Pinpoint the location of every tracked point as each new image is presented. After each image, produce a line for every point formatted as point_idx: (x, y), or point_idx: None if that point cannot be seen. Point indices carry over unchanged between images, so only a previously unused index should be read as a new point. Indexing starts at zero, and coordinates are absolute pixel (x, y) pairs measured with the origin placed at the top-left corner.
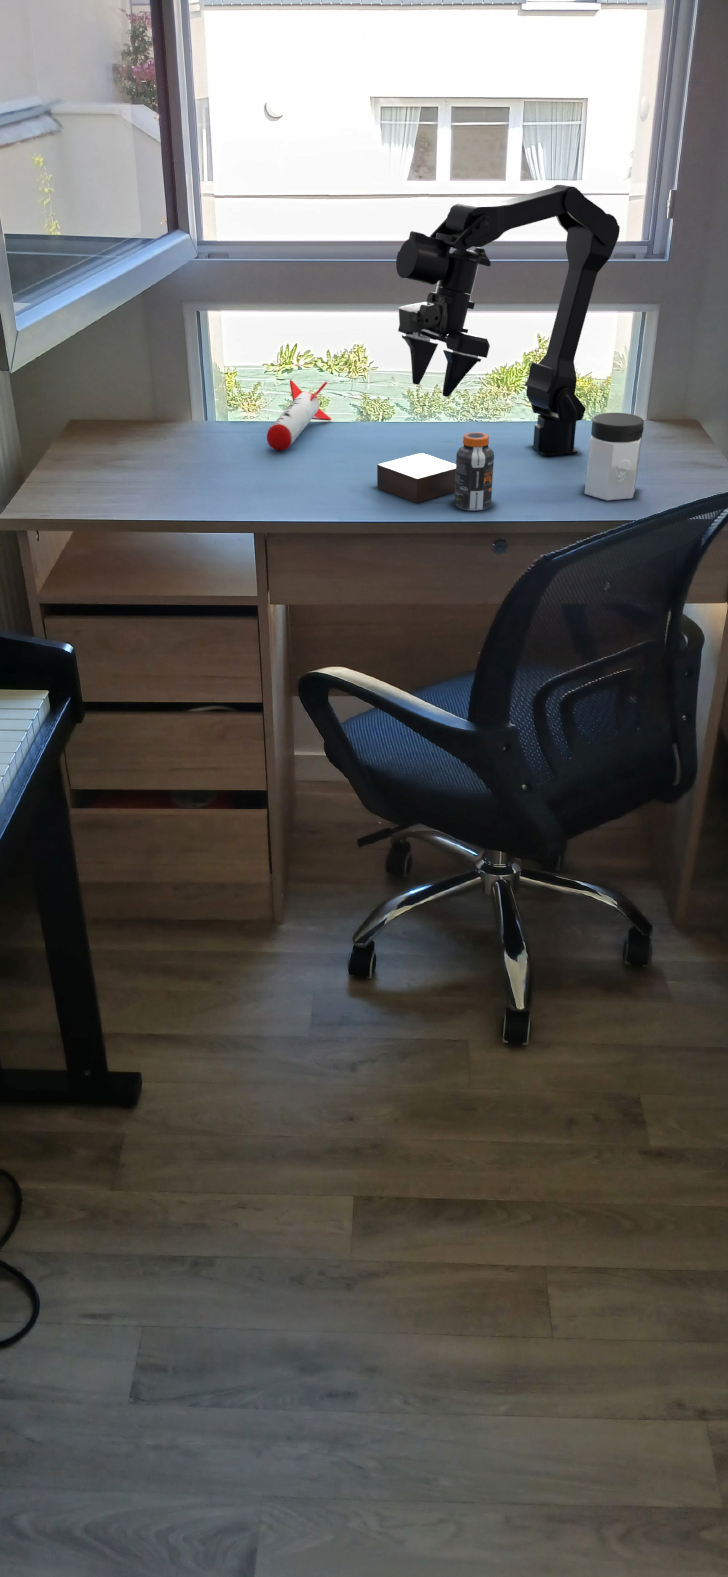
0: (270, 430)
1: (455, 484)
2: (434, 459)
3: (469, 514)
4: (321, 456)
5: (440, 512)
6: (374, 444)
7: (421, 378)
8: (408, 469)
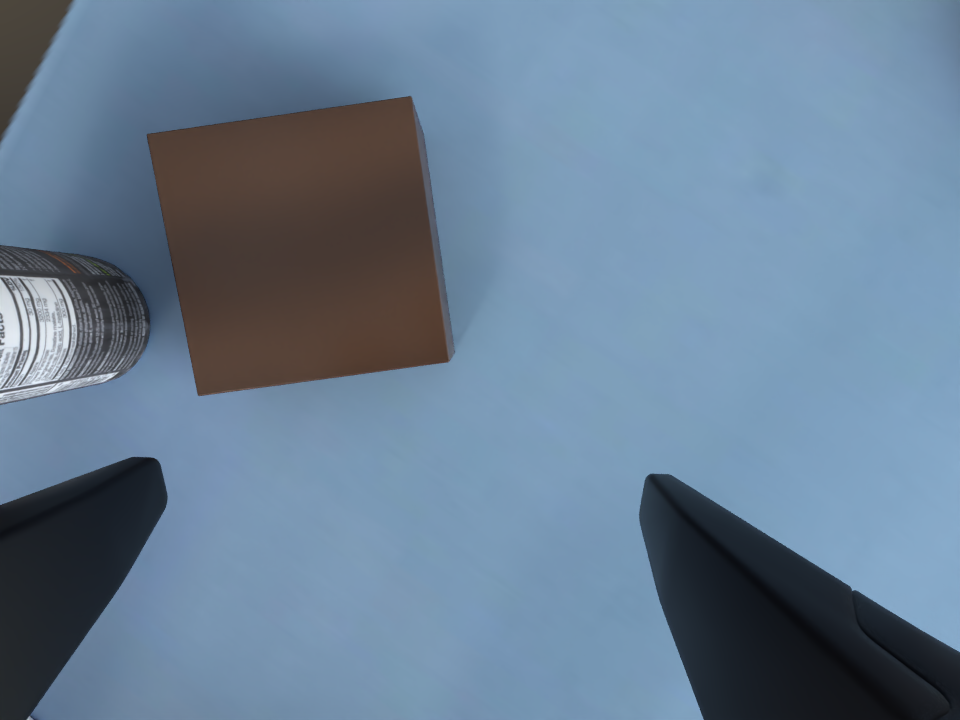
0: None
1: (47, 254)
2: (339, 352)
3: None
4: (869, 153)
5: (82, 182)
6: (872, 414)
7: (652, 568)
8: (275, 174)
